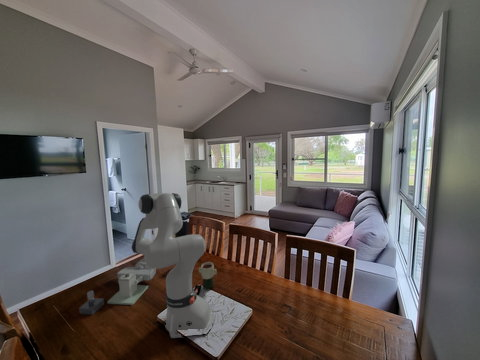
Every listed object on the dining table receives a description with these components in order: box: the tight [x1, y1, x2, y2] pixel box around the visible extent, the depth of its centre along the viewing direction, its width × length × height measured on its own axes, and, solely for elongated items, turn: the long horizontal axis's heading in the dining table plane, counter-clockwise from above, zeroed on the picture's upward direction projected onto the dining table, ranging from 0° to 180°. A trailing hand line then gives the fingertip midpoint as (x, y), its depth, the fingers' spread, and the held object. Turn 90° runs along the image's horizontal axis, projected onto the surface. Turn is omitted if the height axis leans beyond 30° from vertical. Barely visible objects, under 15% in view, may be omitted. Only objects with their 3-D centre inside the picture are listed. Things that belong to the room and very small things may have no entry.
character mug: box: [198, 261, 218, 290], centre depth 114 cm, size 11×7×13 cm, turn 76°
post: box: [78, 290, 105, 316], centre depth 100 cm, size 7×7×9 cm
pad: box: [107, 284, 149, 306], centre depth 109 cm, size 14×14×1 cm
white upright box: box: [118, 273, 138, 297], centre depth 109 cm, size 6×6×11 cm
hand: (127, 282), depth 108 cm, fingers open, 8 cm apart
